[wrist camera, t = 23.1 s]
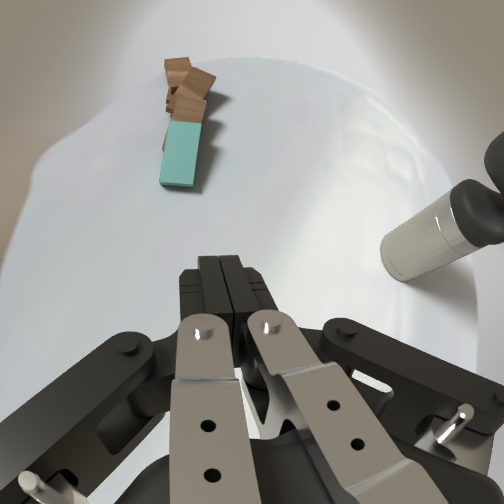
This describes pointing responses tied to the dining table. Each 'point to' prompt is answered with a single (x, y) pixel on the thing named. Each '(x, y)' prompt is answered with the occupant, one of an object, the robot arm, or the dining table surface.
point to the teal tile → (180, 154)
